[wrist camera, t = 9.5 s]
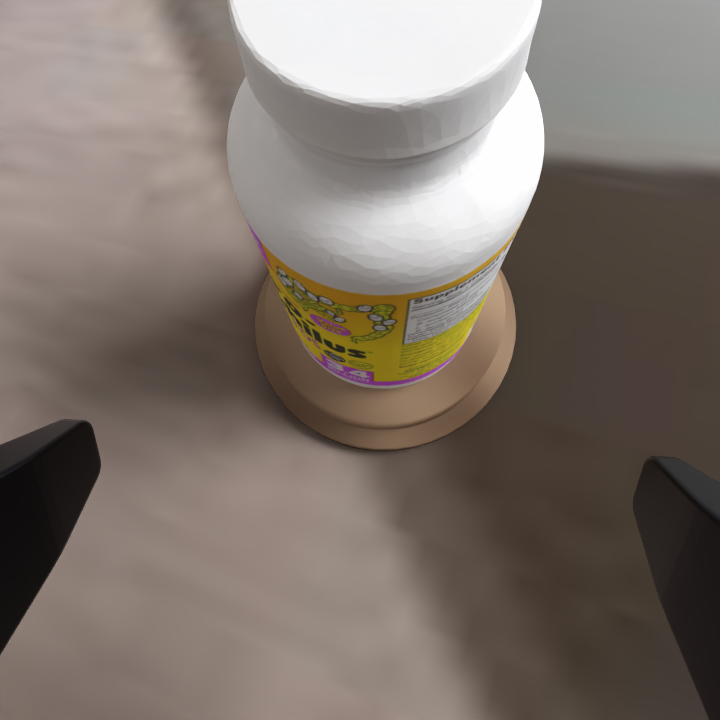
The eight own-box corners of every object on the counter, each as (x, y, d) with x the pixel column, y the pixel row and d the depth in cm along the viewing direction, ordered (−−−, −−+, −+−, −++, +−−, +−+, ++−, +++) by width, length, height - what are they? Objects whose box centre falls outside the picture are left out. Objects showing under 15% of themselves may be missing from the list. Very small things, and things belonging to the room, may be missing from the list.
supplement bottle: (262, 285, 21) (83, -69, 8) (406, 200, 21) (436, -235, 9) (356, 431, 19) (304, 253, 7) (509, 332, 20) (718, 12, 7)
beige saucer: (400, 508, 20) (402, 506, 18) (206, 337, 22) (189, 319, 20) (563, 308, 22) (581, 287, 20) (370, 171, 24) (369, 141, 22)
